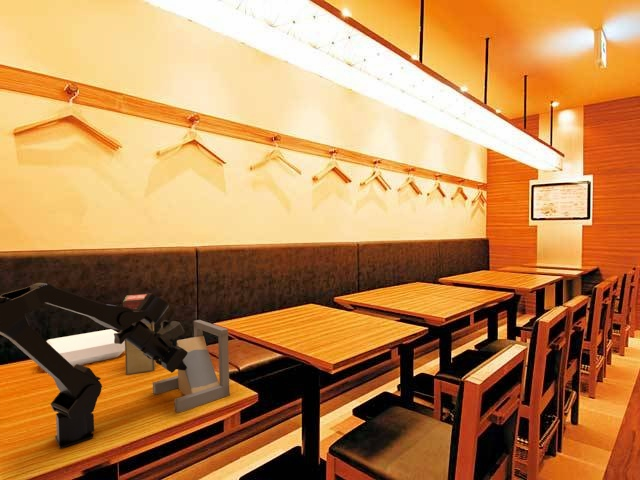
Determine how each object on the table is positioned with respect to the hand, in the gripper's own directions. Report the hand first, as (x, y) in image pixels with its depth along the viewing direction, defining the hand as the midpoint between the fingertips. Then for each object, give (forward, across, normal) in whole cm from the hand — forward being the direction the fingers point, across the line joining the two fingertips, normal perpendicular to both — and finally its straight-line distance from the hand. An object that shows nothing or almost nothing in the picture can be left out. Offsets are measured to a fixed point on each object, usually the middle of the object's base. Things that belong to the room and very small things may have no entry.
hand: (185, 368), depth 109 cm
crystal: (-4, +58, +16) cm, 60 cm away
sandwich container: (+9, -1, +3) cm, 9 cm away
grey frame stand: (+6, 0, +4) cm, 8 cm away
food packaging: (+5, +35, +6) cm, 36 cm away
